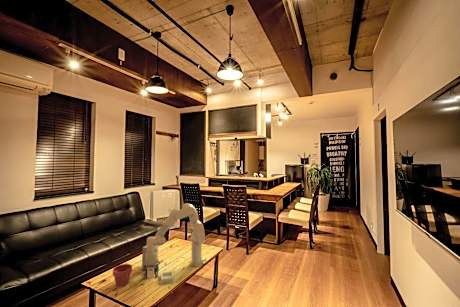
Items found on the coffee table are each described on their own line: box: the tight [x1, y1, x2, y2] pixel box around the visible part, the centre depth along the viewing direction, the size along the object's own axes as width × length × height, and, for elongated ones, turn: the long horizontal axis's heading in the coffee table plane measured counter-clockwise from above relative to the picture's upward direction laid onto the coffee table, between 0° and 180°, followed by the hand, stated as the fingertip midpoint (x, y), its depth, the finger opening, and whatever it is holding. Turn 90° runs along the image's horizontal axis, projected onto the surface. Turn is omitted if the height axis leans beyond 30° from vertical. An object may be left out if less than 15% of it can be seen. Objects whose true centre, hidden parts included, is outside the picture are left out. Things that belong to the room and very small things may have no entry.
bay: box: [142, 265, 160, 280], centre depth 191 cm, size 11×11×5 cm
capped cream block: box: [146, 265, 156, 279], centre depth 191 cm, size 6×8×8 cm
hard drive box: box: [141, 244, 159, 271], centre depth 207 cm, size 16×8×20 cm, turn 168°
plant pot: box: [112, 263, 133, 288], centre depth 178 cm, size 14×14×13 cm
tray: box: [160, 271, 174, 284], centre depth 185 cm, size 10×11×3 cm
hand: (151, 272), depth 191 cm, fingers closed on capped cream block, 5 cm apart
